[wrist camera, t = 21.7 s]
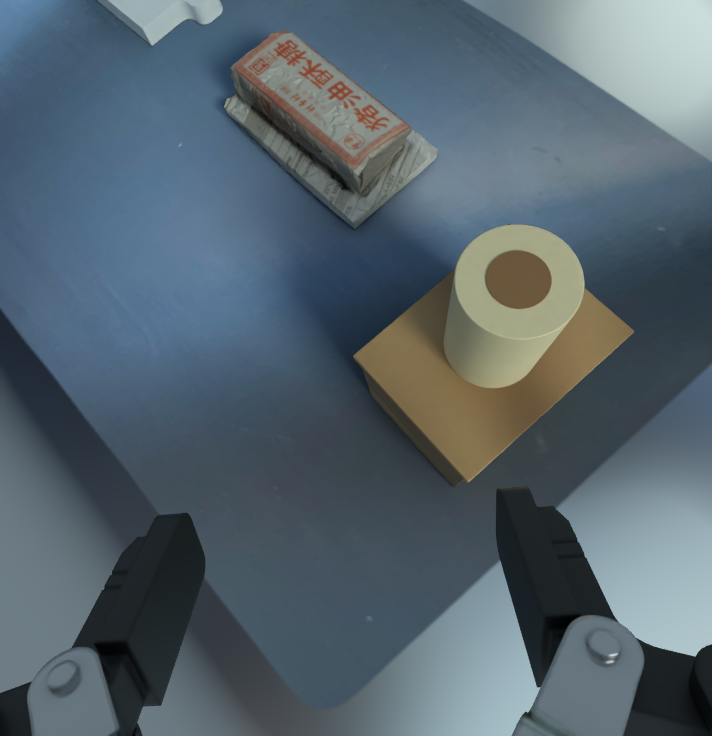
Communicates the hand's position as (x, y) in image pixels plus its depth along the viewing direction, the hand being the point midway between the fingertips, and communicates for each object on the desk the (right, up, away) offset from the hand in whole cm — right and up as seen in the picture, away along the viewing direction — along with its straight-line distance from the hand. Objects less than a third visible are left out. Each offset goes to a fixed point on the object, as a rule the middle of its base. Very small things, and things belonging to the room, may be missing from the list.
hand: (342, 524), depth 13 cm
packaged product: (-2, +25, +33) cm, 41 cm away
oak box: (+9, +3, +25) cm, 26 cm away
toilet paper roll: (+8, +6, +15) cm, 18 cm away
